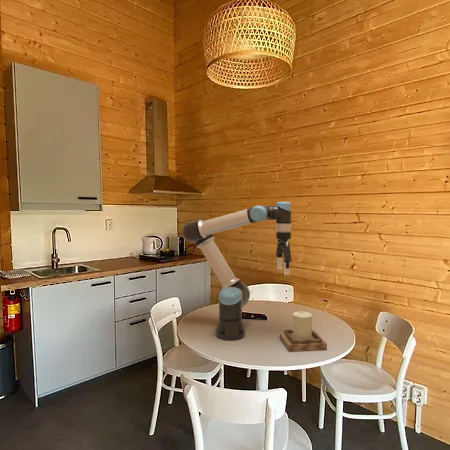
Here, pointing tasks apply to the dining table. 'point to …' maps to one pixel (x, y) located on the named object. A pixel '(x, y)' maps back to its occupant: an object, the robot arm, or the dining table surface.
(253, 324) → the dining table surface
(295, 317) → the can
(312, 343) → the stand
